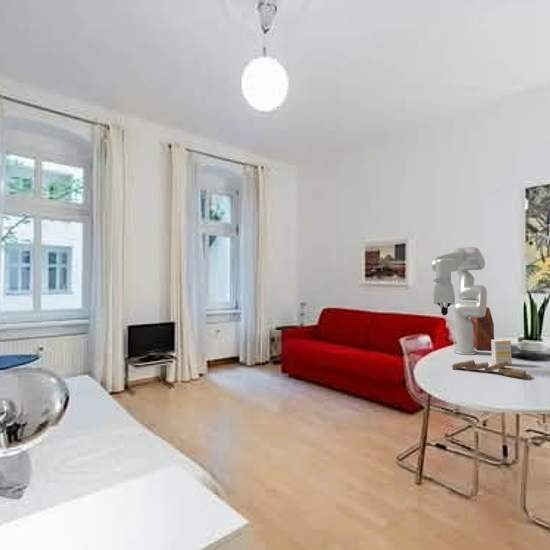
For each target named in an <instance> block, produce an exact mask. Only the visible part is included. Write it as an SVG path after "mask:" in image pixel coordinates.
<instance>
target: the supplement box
mask: <svg viewBox="0 0 550 550" xmlns="http://www.w3.org/2000/svg"><path fill="white" fill-rule="evenodd" d="M491 346H492V350H491V363H492V364H493V365H496V364H499V363H502V362H505V361H508V363H509V365H508V366H512V361H513V360H512V340H510V339H494V340H491Z"/></svg>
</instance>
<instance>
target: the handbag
mask: <svg viewBox="0 0 550 550" xmlns="http://www.w3.org/2000/svg"><path fill="white" fill-rule="evenodd" d="M469 319H470V320H471V321H472V323H473V332H474V350H475V351H479V350H480V351H481V350H484V351H486V350H487V351H488V350H489V351H492V346H491V340H495V329H494V328H495V326H494V321H493V316H492V313H491V309H490V307H488V306H486V314H485V316H484V317H482V318H473V317H469Z"/></svg>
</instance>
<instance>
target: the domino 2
mask: <svg viewBox="0 0 550 550" xmlns="http://www.w3.org/2000/svg"><path fill="white" fill-rule="evenodd" d="M488 362H489V361H486V362H479V363H478V362H477V363H475V364H474V365H473V366H468V367H464V369H465V371H466V370H467V371H466V372H469V371H476V370H482V369H483V370H484V369H485V368H488V367H490V365H489V363H488Z"/></svg>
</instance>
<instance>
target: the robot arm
mask: <svg viewBox="0 0 550 550" xmlns="http://www.w3.org/2000/svg"><path fill="white" fill-rule="evenodd" d="M485 266H486V262H485V258H484V256H483V254H482V252H481V250H480V249H479V248H478V247H475V246H470V247H469V246H466V247H465V246H464V247H458V248H455V249H454V251H453V250H452V252H450V253H447V254H443V255H439V256H437V257H434V259H433V260H432V262H431V270H432V271H433V272H434V273H435V279H433V283H435V284H434V286H433V298H432V299H433V304H434V305H437V306H439V307H440V310H441V312H440V313H441V314H442V316H447V315H448V313H449V311H448V310H449V309H448V308H449V307H450V306H452V305H454V307H453V310H454V315H455V324H456V325H455V329H456V333H455V334H456V344H455V345H454V347H455V348H456V349H454V350H453V352H454V353H455V354H459V355H466V356H467V355H469V356H470V355H471V356H472V355H476V354H478V350H476V349H475V348H474V332H473V323H472V321H471V320H470V317H473V318H482V317H484V316H485V314H486V307H487V303H488V302H487V301H488V290H487V288H486V287H485V286H484V285H483V284H482V285H480V284H477V285H476V284H475V277H474V275H473V274H472V273H471V272H470V271H479V270H483V269H484V268H485ZM455 272H456V273H457V275H458V279H459V281H458V290H457V291H458V293H457V294H458V295H457V296H458V299H460V300H462V301H458V302H456V301H455V298H456V295H455V289H454V284H453V283H452V273H455Z"/></svg>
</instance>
